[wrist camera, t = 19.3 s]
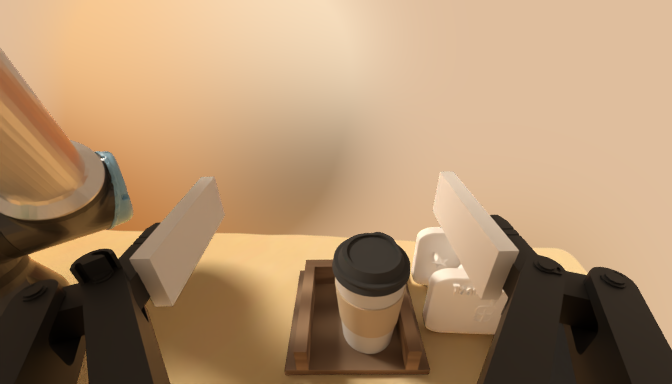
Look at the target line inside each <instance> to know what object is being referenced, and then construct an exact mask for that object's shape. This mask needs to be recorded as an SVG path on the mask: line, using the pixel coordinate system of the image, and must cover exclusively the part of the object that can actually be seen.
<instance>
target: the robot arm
mask: <svg viewBox="0 0 672 384" xmlns="http://www.w3.org/2000/svg"><path fill="white" fill-rule="evenodd" d="M433 212H434V214H435V216H436V218H437V220H438V222H439V224H440V226H441V227H442V229H443V231H444V233H445V235H446V237H447V238H448V240H449V242H450V244H451V246H452V248H453V250H454V251H455V253H456V255H457V257H458V259H459V261H460V263H461V264H462V266H463V268H464V270H465V272H466V274H467V275H468V277H469V279H470V281H471V283H472V285H473V287H474V288H475V290H476V292H477V294H478V296H479V298H480V299H481V300H498V299H499V298H500V295H501V293H502V291H503V290H504V292H505V293H506V295H507V297H508V299H507V302H506V304H505V306H504V308H503V310H502V313H501V318H500V321H499V324H498V326H497V329H496V332H495V335H494V338H493V340H492V343H491V346H490V349H489V352H488V354H487V357H486V360H485V363H484V365H483V368H482V371H481V374H480V377H479V379H478V382H477V384H549V382H550V376H551V370H552V363H553V357H554V351H555V344H556V338H557V332H558V326H559V323H562V324H563V326H564V331H565V335H566V339H567V344H568V348H569V352H570V357H571V361H572V365H573V370H574V374H575V379H576V383H577V384H672V350H671V348H670V346H669V344H668V343H667V340H666V339H665V337H664V335H663V334H662V331H661V329H660V328H659V326H658V324H657V322H656V320H655V319H654V317H653V315H652V313H651V311H650V309H649V307H648V306H647V304H646V302H645V300H644V298H643V296H642V294H641V293H640V291H639V289H638V287H637V286H636V285H635V283H634V282H633V281H632V280H631V279H629V278H628V277H626V276H625V275H623V274H622V273H619V272H617V271H615V270H611V269H609V268H604V267H594V268H592V269H591V270H590V271H589V273H588V274H587V275H583V274H578V273H573V272H568V271H565V270H564V268H563V267H562V266H561V265H560V264H558V263H557V262H556V261H554V260H552V259H550V258H548V257H544V256H540V255H537V254H536V252H535V251H534V250H533V249H532V248H531V247H530V246H529V245H528V244H527V243H526V241H525V240H524V239H523V238H522V237H521V236H519V234H518V232H517V231H516V230H514V229H513V227H512V226H511V225H510V224H509V222H508V221H506V220H505V219H503V218H502V217H500V216H498V215H489V214H488V213H487V211H486V210H485V209H484V208H483V207H482V205H481V204H480V203H479V202H478V201H477V200H476V198H475V197H474V196H473V195H472V193H471V192H470V191H469V190H468V189H467V187H466V186H465V185H464V184H463V183H462V181H461V180H460V179H459V178H458V177H457V175H456V174H455V173H454V172H440V175H439V181H438V186H437V191H436V196H435V201H434V206H433ZM132 216H133V208H132V204H131V201H130V198H129V195H128V192H127V188H126V185H125V182H124V179H123V177H122V174H121V171H120V169H119V166H118V164H117V162H116V159H115V158H114V156H113V155H112V153H110V152H106V151H105V152H100V151H99V152H98V151H97V152H94V151H92V150H91V149H90V148H88V147H86V146H85V145H83V144H80V143H78V142H75V141H72V140H69V139H68V137H67V136H66V135H65V133H64V132H63V131H62V129H61V128H60V127H59V125H58V124H57V123H56V121H55V120H54V119H53V117H52V116H51V115H50V114H49V112H48V111H47V109H46V108H45V107H44V105H43V104H42V103H41V101H40V100H39V99H38V97H37V96H36V95H35V93H34V92H33V91H32V89H31V88H30V87H29V85H28V84H27V83H26V81H25V80H24V79H23V77H22V76H21V75H20V73H19V72H18V71H17V69H16V68H15V67H14V66H13V64H12V63H11V61H10V60H9V59H8V57H7V56H6V55H5V53H4V52H3V51H2V49H0V384H77V380H78V377H79V373H80V369H81V366H82V362H83V358H84V355H85V351H86V354H87V366H88V378H89V384H170V381H169V378H168V375H167V372H166V368H165V365H164V362H163V359H162V356H161V352H160V349H159V346H158V343H157V340H156V336H155V333H154V330H153V327H152V324H151V320H150V317H149V314H148V311H147V309H146V307H145V304H146V303H147V301H148V300H149V298H151V300H152V302H153V304H154V306H155V307H160V306H173V305H174V303H175V302H176V300H177V298H178V296H179V295H180V293H181V291H182V289H183V288H184V286H185V284H186V283H187V281H188V279H189V277H190V276H191V274H192V272H193V270H194V269H195V267H196V265H197V263H198V262H199V260H200V258H201V256H202V255H203V253H204V251H205V249H206V248H207V246H208V244H209V242H210V241H211V239H212V237H213V235H214V234H215V232H216V230H217V228H218V227H219V225H220V223H221V222H222V220H223V218H224V216H225V214H224V210H223V206H222V203H221V199H220V195H219V192H218V188H217V184H216V181H215V177H201V178H200V179H199V180H198V181H197V182H196V184H195V185H194V186H193V187H192V188H191V189H190V190H189V192H188V193H187V194H186V195H185V196H184V197H183V198H182V200H181V201H180V202H179V203H178V204H177V205H176V206H175V207H174V209H173V210H172V211H171V212H170V213H169V214H168V215H167V216H166V218H165V219H164V220H163V221H162V222H161V223H155V224H153V225H152V226H150V227H149V228H147V229H146V230H145V231H144V232H143V233H142V234H141V235H140V236H139V238H137V239H136V241H135V242H134V243H133V245H131V246H130V247H129V248H128V249H127V250H126V251H125V252H124V254H123V255H122V256H121V257H120V258H119V259H118V258H117V257H116V255H115V253H114V252H113V251H112V250H111V249H99V250H95V251H92V252H90V253H87V254H85V255H83V256H82V257H80V258H79V259H77V260H76V261H75V262H74V263H73V264H72V265H71V268H70V271H71V272H72V274H73V275H74V277H75V278H76V279H77V281H78V282H79V283H78V284H74V285H70V284H69V283H68V282H67V280H66V279H65V278H64V277H63V276H62V275H60V274H58V273H56V272H54V271H53V270H51V269H49V268H47V267H45V266H43V265H41V264H40V263H38V262H36V261H34V260H32V259H31V258H30V257H29V256H28V254H31V253H34V252H37V251H40V250H43V249H46V248H49V247H52V246H56V245H59V244H62V243H65V242H68V241H71V240H74V239H77V238H80V237H83V236H86V235H90V234H93V233H96V232H99V231H102V230H105V229H106V230H109V229H112V228H113V227H115V226H116V225H119V224H122V223H125V222H127V221H128V220H130V219H131V218H132Z"/></svg>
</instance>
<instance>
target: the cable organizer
mask: <svg viewBox="0 0 672 384" xmlns="http://www.w3.org/2000/svg"><path fill="white" fill-rule="evenodd" d="M411 273H412V277H413V280H414V281H415V282H416V283H418V284H422V285H427V286H426V287H428V290H427V295H426V300H425V304H424V309H423V314H422V315H423V320H424V324H425V327H426V328H427V329H429V330H431V331H434V332H443V333H468V334H493V335H495V332H496V329H497V326H498V324H499V321H500V318H501V313H502V310H503V308H504V306H505V304H506V302H507V299H508V297H507V295H506V293H505V292H504V290H503V291H502V293H501V295H500V298H499V299H498V300H481V299H480V298H479V296H478V294H477V292H476V290H475V288H474V287H473V285H472V283H471V281H470V279H469V277H468V275H467V274H466V272H465V270H464V268H463V266H462V264H461V263H460V261H459V259H458V257H457V255H456V253H455V251H454V250H453V248H452V246H451V244H450V242H449V240H448V238H447V237H446V235H445V233H444V231H443V229H442V227H429V228H425V229H423V230H421V231H420V232H419V233H418V235H417V239H416V245H415V251H414V258H413V264H412V270H411Z"/></svg>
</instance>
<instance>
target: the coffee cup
mask: <svg viewBox="0 0 672 384" xmlns="http://www.w3.org/2000/svg"><path fill="white" fill-rule="evenodd" d="M332 269H333V273H334V276H335V287H336V293H337V300H338V307H339V313H340V317H341V320H342V327H343V334H344V337H345V339H346V341H347V342H348V344H349V345H350V346H351V347H352V348H354V349H355V350H357V351H359V352H361V353H365V354H375V353H378V352H381V351H382V350H384V349H385V348H386V347H387V346H388V345H389V343H390V341H391V338H392V334H393V330H394V327H395V325H396V323H397V320H398V316H399V312H400V309H401V305H402V301H403V297H404V294H405V290H406V283H407V281H408V279H409V276H410V261H409V258H408V256H407V254H406V253H405V251H404V250H403V249H402V248H401V247H400V246H398V245H397V244H396V242H395V241H394V239H393V238H392V237H390V236H388V235H386V234H384V233H381V232H375V233H364V234H358V235H355V236H353V237H351V238H349V239H347V240H345V241H344V242H343V243H341V244H340V245H339V246H338V248H337V249H336V251H335V254H334V259H333V263H332Z"/></svg>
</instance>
